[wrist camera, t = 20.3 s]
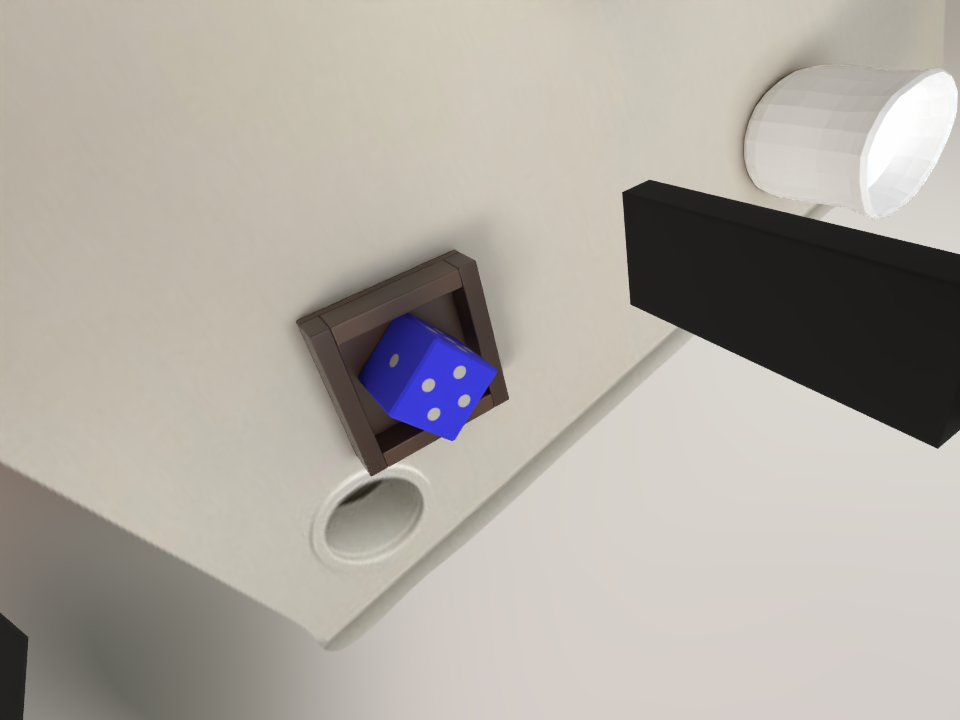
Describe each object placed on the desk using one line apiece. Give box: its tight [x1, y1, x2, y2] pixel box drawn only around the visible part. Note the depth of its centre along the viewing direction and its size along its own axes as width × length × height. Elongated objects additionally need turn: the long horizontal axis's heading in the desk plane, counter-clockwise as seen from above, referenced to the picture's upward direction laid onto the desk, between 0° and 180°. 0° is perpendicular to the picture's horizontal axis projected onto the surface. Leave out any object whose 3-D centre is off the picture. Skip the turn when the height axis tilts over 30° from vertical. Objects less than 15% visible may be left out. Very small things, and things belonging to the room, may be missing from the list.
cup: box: [744, 65, 958, 219], centre depth 44 cm, size 10×10×10 cm
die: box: [358, 313, 497, 441], centre depth 36 cm, size 5×5×5 cm
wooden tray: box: [297, 250, 509, 476], centre depth 37 cm, size 10×10×3 cm
